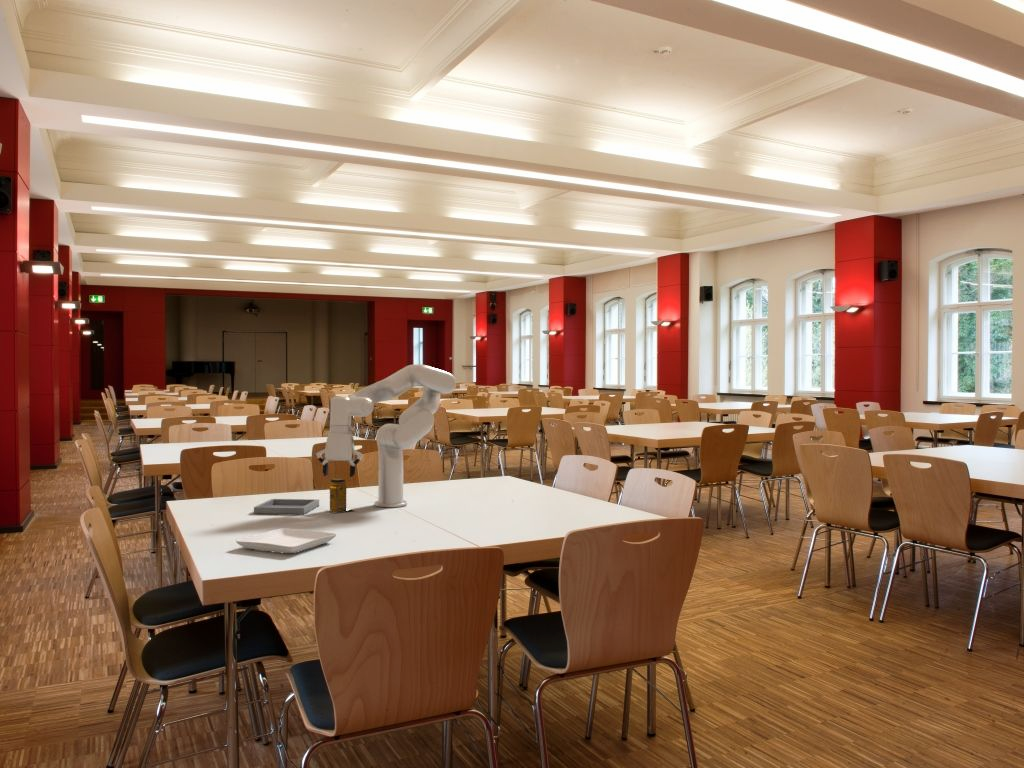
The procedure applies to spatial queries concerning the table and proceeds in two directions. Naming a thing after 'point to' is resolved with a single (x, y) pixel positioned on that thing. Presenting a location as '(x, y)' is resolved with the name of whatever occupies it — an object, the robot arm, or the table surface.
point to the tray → (286, 506)
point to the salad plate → (286, 540)
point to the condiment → (337, 495)
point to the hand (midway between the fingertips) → (338, 476)
